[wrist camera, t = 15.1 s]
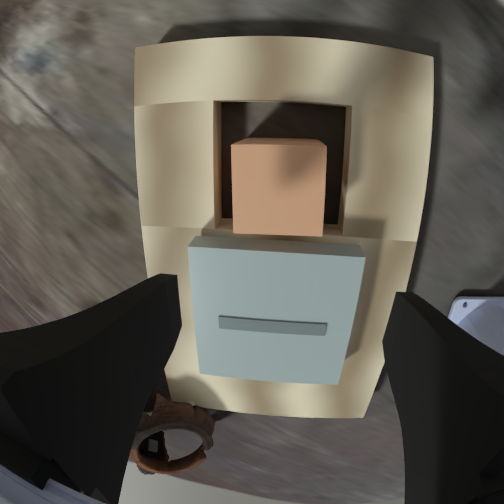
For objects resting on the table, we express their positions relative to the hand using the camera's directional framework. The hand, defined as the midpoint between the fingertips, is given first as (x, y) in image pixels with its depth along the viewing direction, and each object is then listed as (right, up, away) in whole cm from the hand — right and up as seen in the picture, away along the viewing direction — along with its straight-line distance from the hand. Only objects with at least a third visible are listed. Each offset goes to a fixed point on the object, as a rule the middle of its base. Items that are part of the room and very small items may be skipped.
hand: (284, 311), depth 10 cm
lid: (0, -2, +9) cm, 9 cm away
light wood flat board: (+1, +1, +10) cm, 10 cm away
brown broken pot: (-10, -13, +18) cm, 24 cm away
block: (+1, +6, +8) cm, 10 cm away
